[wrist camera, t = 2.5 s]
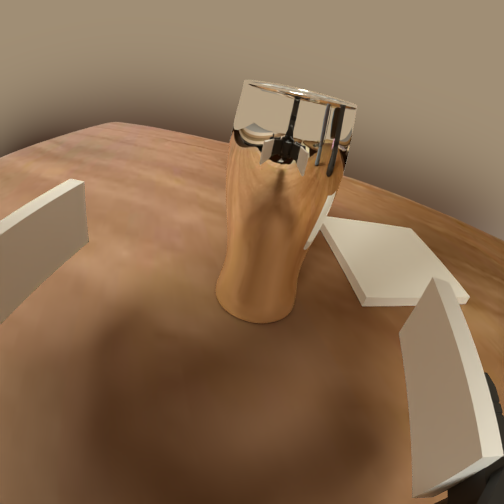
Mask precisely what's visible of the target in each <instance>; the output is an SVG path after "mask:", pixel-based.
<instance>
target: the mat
mask: <svg viewBox="0 0 504 504" xmlns="http://www.w3.org/2000/svg"><path fill="white" fill-rule="evenodd" d="M320 230H321V232H322V234H323V236H324V237H325V239H326V241H327V243H328V244H329V246H330V248H331V250H332V251H333V253H334V255H335V257H336V259H337V260H338V262H339V264H340V266H341V268H342V269H343V271H344V273H345V275H346V277H347V279H348V280H349V282H350V284H351V286H352V288H353V290H354V292H355V294H356V296H357V297H358V299H359V301H360V303H361V305H362V306H416V305H417V303H418V301H419V300H420V298H421V296H422V295H423V293H424V291H425V289H426V288H427V286H428V284H429V282H430V280H431V279H432V277H435V278H438V279H441V280H444V281H447V282H450V285H451V287H452V289H453V291H454V294H455V296H456V298H457V301H458V303H459V304H466V302H467V301H468V299H469V297H470V296H469V295H468V294H467V292H466V291H465V290H464V289H463V287H462V286H461V285H460V284H459V282H458V281H457V280H456V279H455V278H454V276H453V275H452V274H451V273H450V272H449V270H448V269H447V268H446V267H445V266H444V265H443V263H442V262H441V261H440V260H439V259H438V258H437V256H436V255H435V254H434V253H433V252H432V251H431V250H430V249H429V247H428V246H427V245H426V244H425V243H424V242H423V241H422V240H421V239H420V238H419V236H418V235H417V234H416V233H415V232H414V231H413V230H412V229H411V228H405V227H399V226H392V225H386V224H379V223H372V222H365V221H358V220H350V219H343V218H335V217H328V216H326V218H325V220H324V222H323V224H322V226H321V228H320Z"/></svg>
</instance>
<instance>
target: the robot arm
mask: <svg viewBox="0 0 504 504" xmlns="http://www.w3.org/2000/svg"><path fill="white" fill-rule="evenodd" d="M88 242H89V238H88V228H87V217H86V204H85V186H84V182H83V181H79V180H75V179H69V180H67V181H65V182H64V183H62V184H60V185H58V186H56V187H55V188H53V189H51V190H49V191H48V192H46V193H44V194H42V195H41V196H39V197H37V198H36V199H34V200H32V201H31V202H29V203H27V204H26V205H24V206H23V207H21V208H19V209H18V210H16V211H15V212H13V213H11V214H10V215H8V216H7V217H5V218H4V219H2V220H1V221H0V325H1V324H2V323H3V322H4V320H5V319H6V318H7V317H8V316H9V315H10V314H11V313H12V312H13V311H14V310H15V309H16V308H17V307H18V306H19V305H20V304H21V303H22V302H23V301H24V300H25V299H26V298H27V297H28V296H29V295H30V294H31V293H32V292H34V291H35V290H36V289H37V288H38V287H39V286H40V285H41V284H42V283H43V282H44V281H45V280H46V279H47V278H48V277H49V276H51V275H52V274H53V273H54V272H55V271H56V270H57V269H58V268H59V267H61V266H62V265H63V264H64V263H65V262H66V261H67V260H68V259H70V258H71V257H72V256H73V255H74V254H75V253H76V252H78V251H79V250H80V249H81V248H82V247H83V246H85V245H86V244H87V243H88ZM399 337H400V343H401V350H402V357H403V364H404V371H405V379H406V387H407V397H408V407H409V418H410V433H411V452H412V498H425V497H434V496H436V495H438V494H440V493H442V492H444V491H446V490H448V497H447V498H445V499H443V500H441V501H439V502H437V503H435V504H504V416H503V415H502V409H501V405H500V404H499V397H498V394H497V390H496V387H495V385H494V383H493V382H492V380H491V378H490V377H489V375H488V374H487V373H484V371H483V368H482V365H481V362H480V359H479V356H478V353H477V350H476V347H475V344H474V341H473V339H472V336H471V333H470V331H469V328H468V325H467V323H466V320H465V318H464V315H463V313H462V310H461V308H460V305H459V303H458V301H457V298H456V296H455V294H454V291H453V289H452V287H451V285H450V282H447V281H444V280H441V279H438V278H435V277H432V279H431V280H430V282H429V284H428V286H427V288H426V289H425V291H424V293H423V295H422V296H421V298H420V300H419V301H418V303H417V305H416V306H415V308H414V310H413V311H412V313H411V314H410V316H409V318H408V319H407V321H406V322H405V324H404V326H403V327H402V329H401V330H400V332H399Z"/></svg>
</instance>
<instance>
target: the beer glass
mask: <svg viewBox="0 0 504 504" xmlns="http://www.w3.org/2000/svg"><path fill="white" fill-rule="evenodd" d="M357 108H358V106H357V105H355V104H353V103H350V102H348V101H345V100H342V99H339V98H335V97H332V96H328V95H325V94H321V93H317V92H314V91H309V90H305V89H301V88H296V87H292V86H287V85H282V84H276V83H270V82H264V81H256V80H245V81H244V85H243V89H242V94H241V97H240V101H239V105H238V108H237V112H236V116H235V120H234V124H233V128H232V134H231V138H230V144H229V150H228V158H227V166H226V214H227V251H226V256H225V261H224V264H223V267H222V269H221V272H220V274H219V277H218V280H217V283H216V288H215V293H216V297H217V300H218V302H219V303H220V305H221V306H222V307H223V308H224V309H225V310H226V311H227V312H228V313H230V314H231V315H233V316H235V317H237V318H239V319H241V320H244V321H247V322H252V323H271V322H276V321H278V320H281V319H283V318H284V317H286V316H287V315H288V314H289V313H290V312H291V310H292V309H293V306H294V303H295V297H296V287H297V279H298V274H299V271H300V268H301V265H302V262H303V260H304V258H305V256H306V254H307V252H308V250H309V248H310V246H311V244H312V242H313V241H314V239H315V237H316V235H317V233H318V231H319V230H320V228H321V226H322V224H323V222H324V220H325V218H326V216H327V214H328V212H329V210H330V208H331V206H332V203H333V201H334V199H335V197H336V194H337V192H338V189H339V186H340V183H341V180H342V177H343V174H344V170H345V166H346V162H347V157H348V154H349V149H350V144H351V139H352V133H353V127H354V121H355V116H356V110H357Z"/></svg>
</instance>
